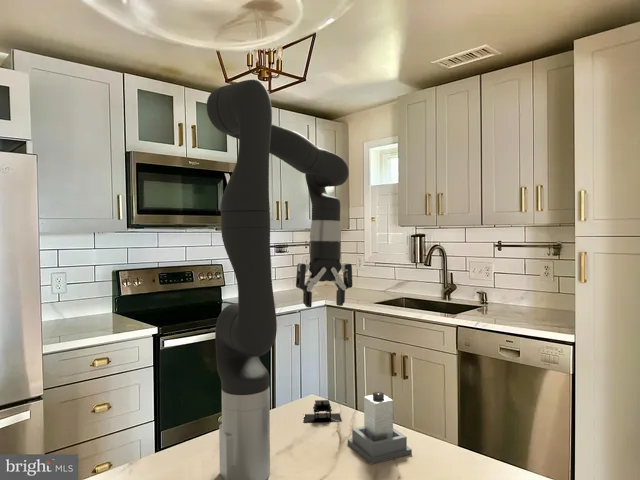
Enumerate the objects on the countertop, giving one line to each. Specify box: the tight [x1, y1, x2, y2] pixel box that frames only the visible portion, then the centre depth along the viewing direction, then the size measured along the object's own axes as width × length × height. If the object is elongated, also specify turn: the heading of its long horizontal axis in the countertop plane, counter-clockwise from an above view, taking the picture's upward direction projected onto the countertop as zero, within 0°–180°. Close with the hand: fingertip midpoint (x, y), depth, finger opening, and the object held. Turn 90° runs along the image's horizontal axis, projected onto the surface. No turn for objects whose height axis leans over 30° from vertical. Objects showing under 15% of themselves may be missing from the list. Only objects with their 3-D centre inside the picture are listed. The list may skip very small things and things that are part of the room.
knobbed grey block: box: [363, 391, 394, 442], centre depth 100 cm, size 4×4×11 cm
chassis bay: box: [347, 425, 413, 465], centre depth 100 cm, size 10×10×4 cm
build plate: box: [302, 399, 343, 424], centre depth 117 cm, size 12×7×5 cm, turn 93°
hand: (324, 306), depth 112 cm, fingers open, 8 cm apart
